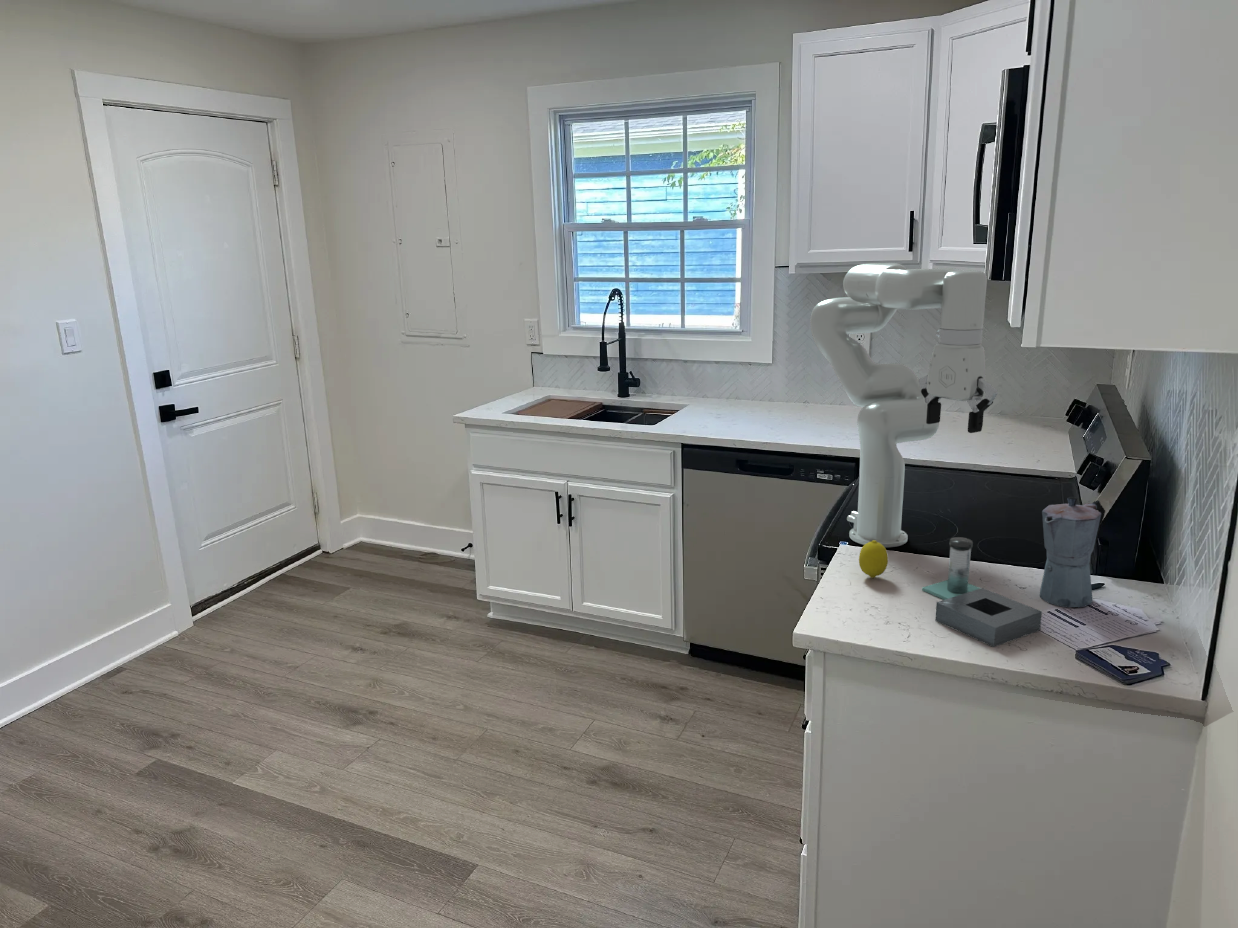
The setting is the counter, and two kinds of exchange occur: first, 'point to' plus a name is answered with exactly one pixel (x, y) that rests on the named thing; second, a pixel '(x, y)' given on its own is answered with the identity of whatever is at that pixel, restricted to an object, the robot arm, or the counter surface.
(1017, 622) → the socket block
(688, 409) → the counter surface
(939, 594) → the pad
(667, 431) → the counter surface
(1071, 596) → the moka pot
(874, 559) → the lemon
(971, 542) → the clear capped vial
